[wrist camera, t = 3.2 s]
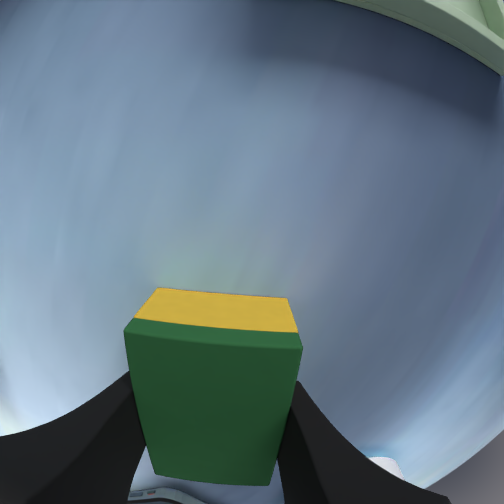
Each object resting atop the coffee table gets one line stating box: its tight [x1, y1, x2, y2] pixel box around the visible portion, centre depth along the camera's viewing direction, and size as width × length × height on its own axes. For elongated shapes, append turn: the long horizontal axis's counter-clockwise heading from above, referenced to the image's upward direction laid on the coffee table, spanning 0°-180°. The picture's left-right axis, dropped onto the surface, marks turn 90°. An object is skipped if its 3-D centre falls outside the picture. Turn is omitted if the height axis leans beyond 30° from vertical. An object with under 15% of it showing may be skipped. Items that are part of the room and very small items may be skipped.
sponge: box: [124, 288, 303, 486], centre depth 9 cm, size 7×4×3 cm, turn 175°
